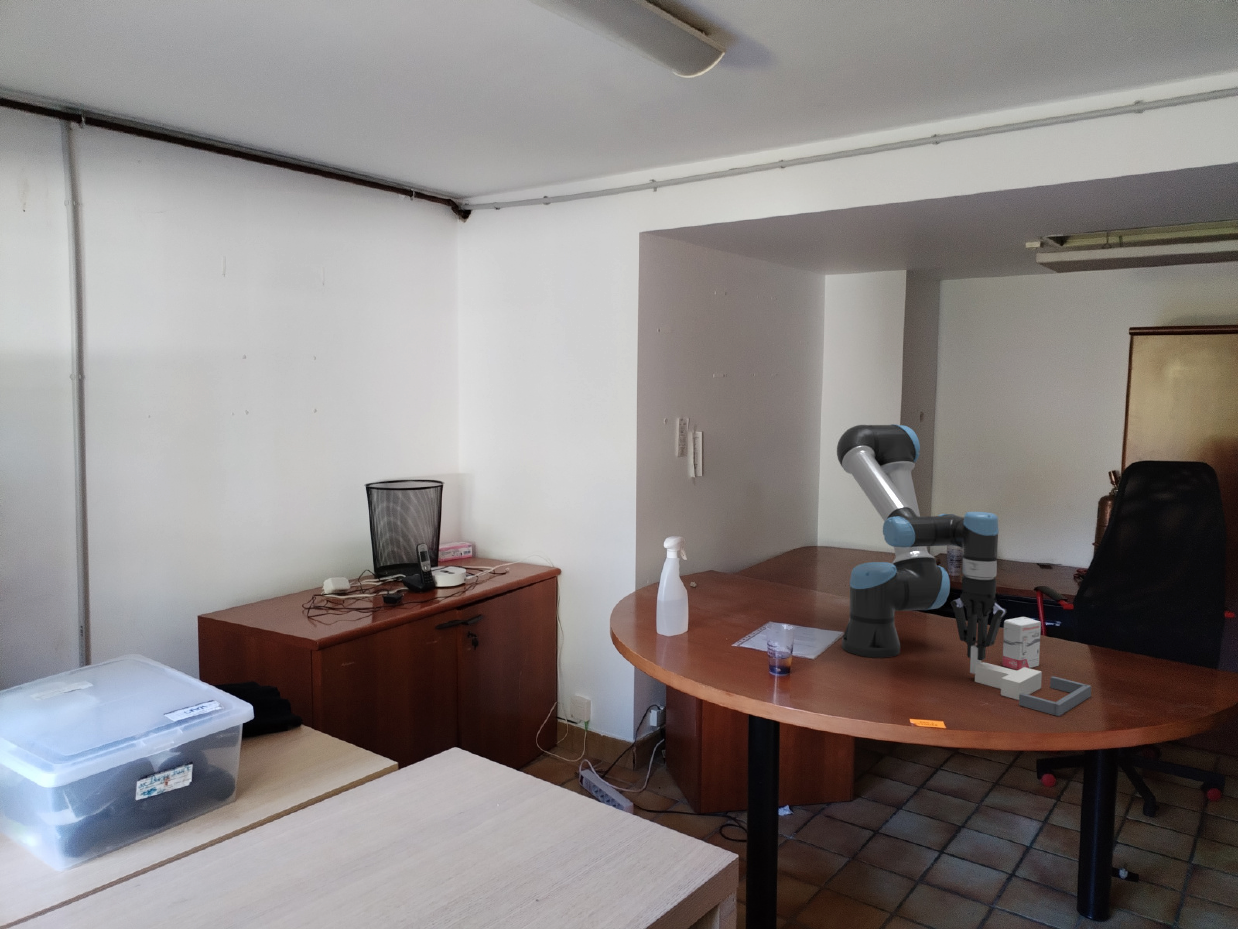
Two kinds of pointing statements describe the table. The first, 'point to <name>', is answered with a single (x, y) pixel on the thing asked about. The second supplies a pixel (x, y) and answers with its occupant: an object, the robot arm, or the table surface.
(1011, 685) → the t block
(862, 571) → the robot arm
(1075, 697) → the dock
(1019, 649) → the ink box
